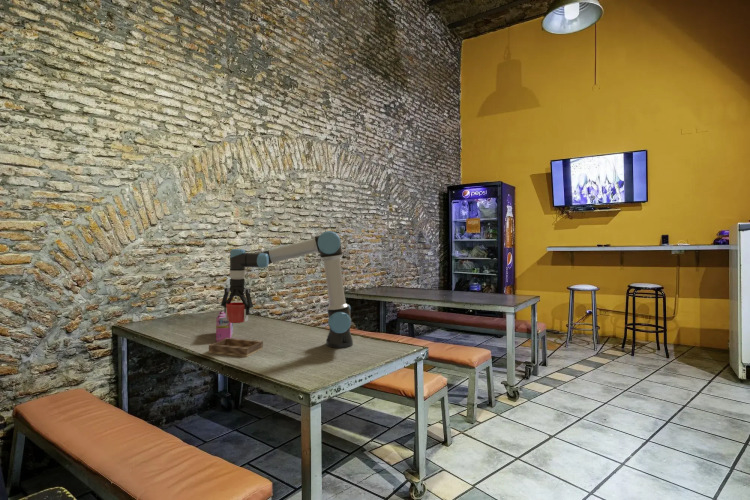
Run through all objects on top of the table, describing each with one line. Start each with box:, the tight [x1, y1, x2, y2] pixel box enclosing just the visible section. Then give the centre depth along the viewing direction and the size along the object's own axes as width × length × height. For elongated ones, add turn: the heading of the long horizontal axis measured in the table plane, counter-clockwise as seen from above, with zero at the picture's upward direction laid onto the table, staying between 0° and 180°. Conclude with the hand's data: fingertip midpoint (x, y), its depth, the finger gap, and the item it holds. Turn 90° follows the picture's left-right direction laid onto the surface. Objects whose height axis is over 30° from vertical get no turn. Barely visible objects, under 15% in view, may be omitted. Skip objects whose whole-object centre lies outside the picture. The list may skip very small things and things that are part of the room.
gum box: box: [215, 310, 234, 342], centre depth 251 cm, size 24×8×14 cm, turn 15°
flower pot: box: [226, 301, 245, 324], centre depth 220 cm, size 11×11×10 cm
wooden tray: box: [208, 337, 264, 358], centre depth 221 cm, size 22×16×4 cm
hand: (236, 320), depth 221 cm, fingers closed on flower pot, 10 cm apart
